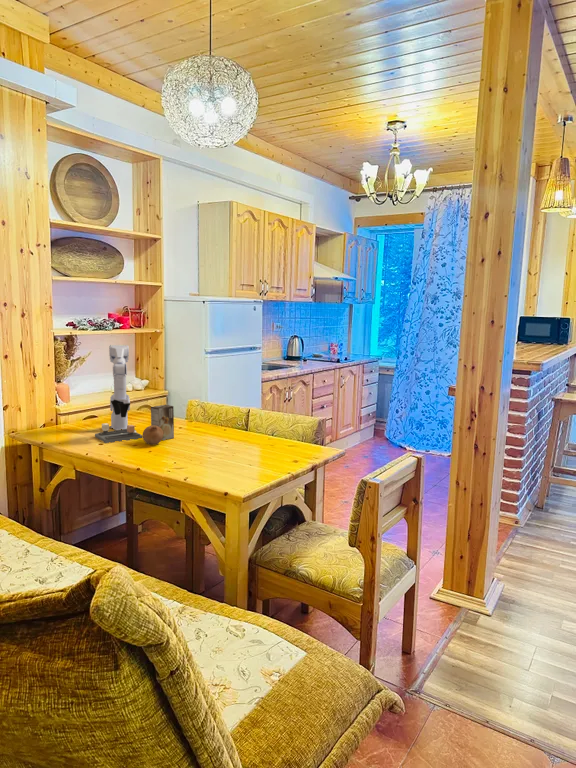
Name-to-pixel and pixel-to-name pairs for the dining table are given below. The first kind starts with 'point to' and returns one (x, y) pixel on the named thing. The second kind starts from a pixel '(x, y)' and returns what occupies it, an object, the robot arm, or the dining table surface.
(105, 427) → the block
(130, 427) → the fader
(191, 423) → the dining table surface
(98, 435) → the console
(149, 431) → the onion
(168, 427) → the coffee box
